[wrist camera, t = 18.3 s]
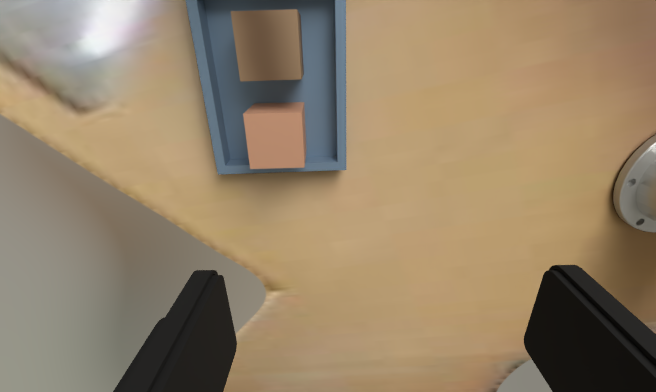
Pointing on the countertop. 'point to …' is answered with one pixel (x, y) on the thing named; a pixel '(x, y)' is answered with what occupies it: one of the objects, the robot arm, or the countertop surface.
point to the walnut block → (268, 44)
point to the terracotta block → (276, 135)
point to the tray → (273, 81)
